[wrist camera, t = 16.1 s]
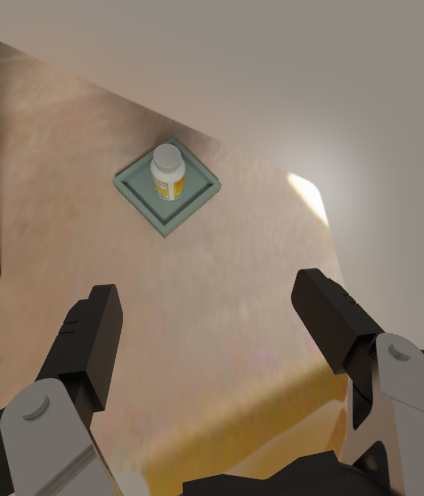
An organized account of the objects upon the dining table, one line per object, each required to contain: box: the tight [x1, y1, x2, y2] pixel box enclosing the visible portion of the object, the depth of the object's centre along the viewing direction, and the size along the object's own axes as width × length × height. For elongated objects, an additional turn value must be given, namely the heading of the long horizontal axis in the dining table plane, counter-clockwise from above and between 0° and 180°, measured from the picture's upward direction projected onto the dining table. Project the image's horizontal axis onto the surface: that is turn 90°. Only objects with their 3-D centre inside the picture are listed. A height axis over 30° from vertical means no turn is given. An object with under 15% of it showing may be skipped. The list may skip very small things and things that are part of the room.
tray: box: [112, 136, 222, 238], centre depth 41 cm, size 14×13×2 cm
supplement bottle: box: [151, 144, 185, 200], centre depth 37 cm, size 5×5×10 cm
